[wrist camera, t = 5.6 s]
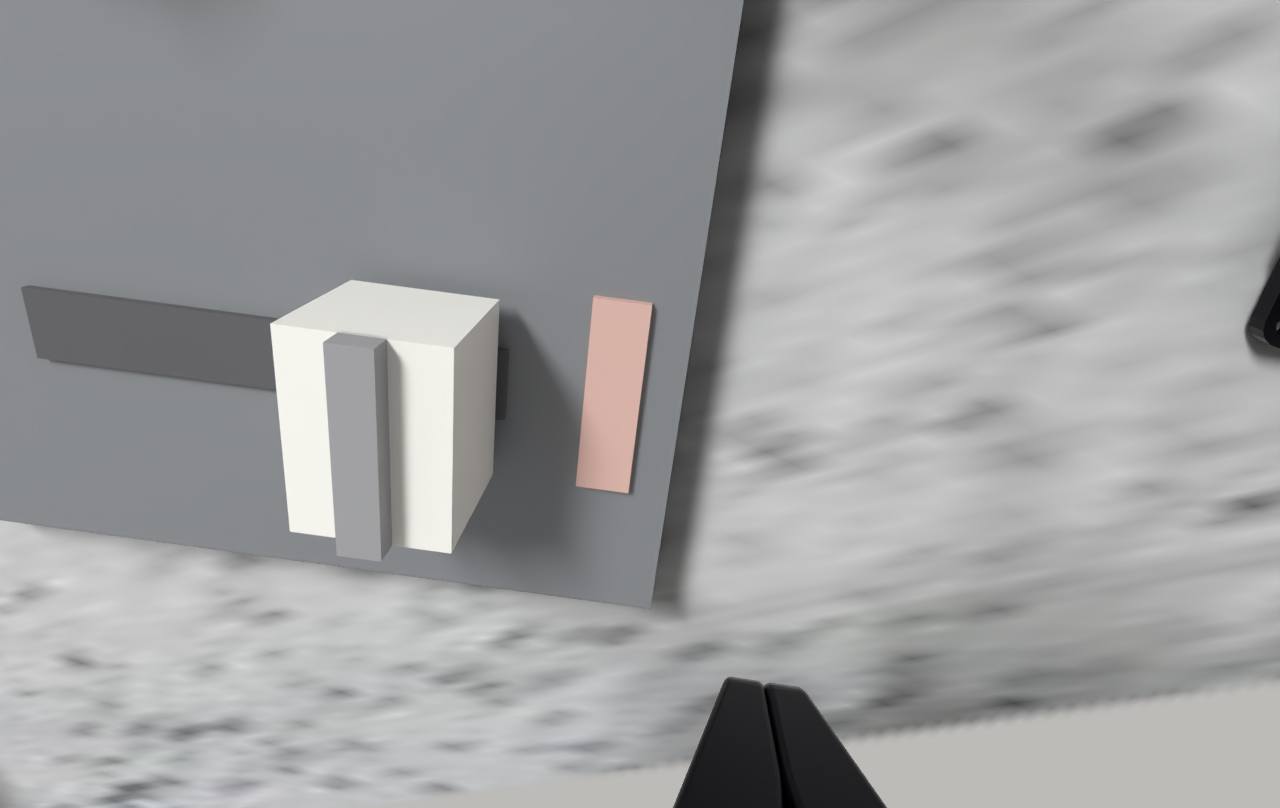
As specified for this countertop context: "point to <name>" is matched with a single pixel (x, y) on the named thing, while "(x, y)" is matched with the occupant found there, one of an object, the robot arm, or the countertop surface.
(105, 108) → the panel
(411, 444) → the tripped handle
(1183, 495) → the countertop surface
